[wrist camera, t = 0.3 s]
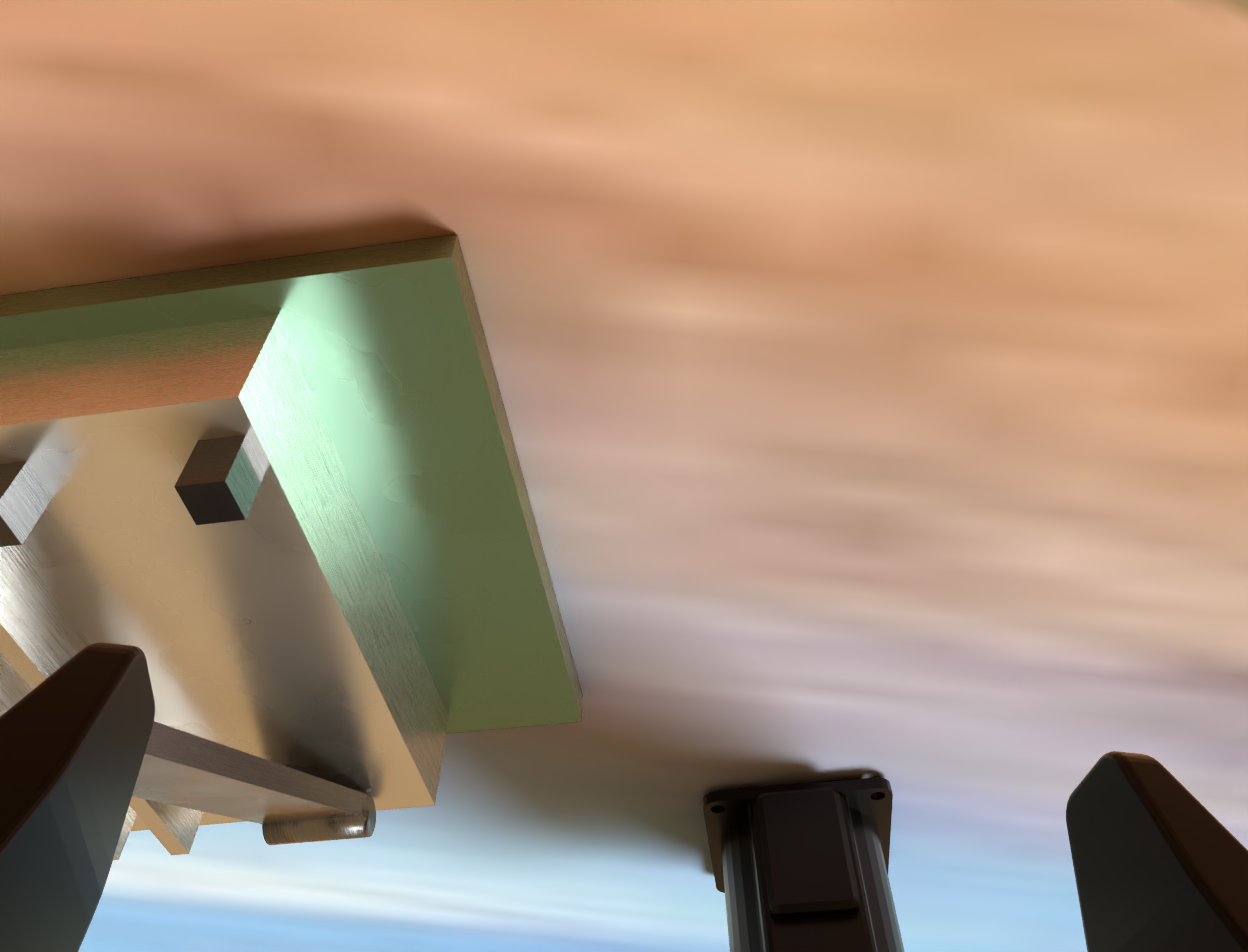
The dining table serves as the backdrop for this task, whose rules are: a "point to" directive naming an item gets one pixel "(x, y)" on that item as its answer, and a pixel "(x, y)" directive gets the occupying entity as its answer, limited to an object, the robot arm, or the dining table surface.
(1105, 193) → the dining table surface
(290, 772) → the strap
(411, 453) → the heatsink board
